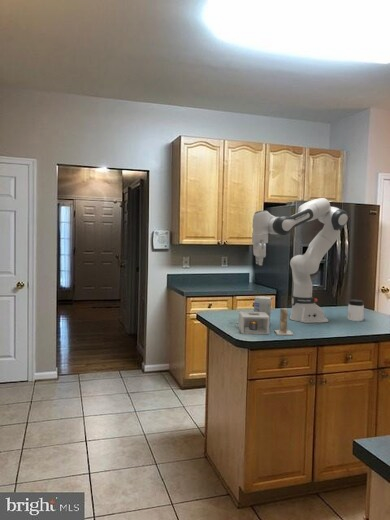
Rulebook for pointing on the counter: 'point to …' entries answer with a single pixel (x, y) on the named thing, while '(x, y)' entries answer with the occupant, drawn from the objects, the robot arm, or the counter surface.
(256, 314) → the box
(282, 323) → the rectangular block
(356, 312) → the jar
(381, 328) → the counter surface
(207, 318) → the counter surface
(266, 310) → the supplement tub
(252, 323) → the orange ball
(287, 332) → the tile
